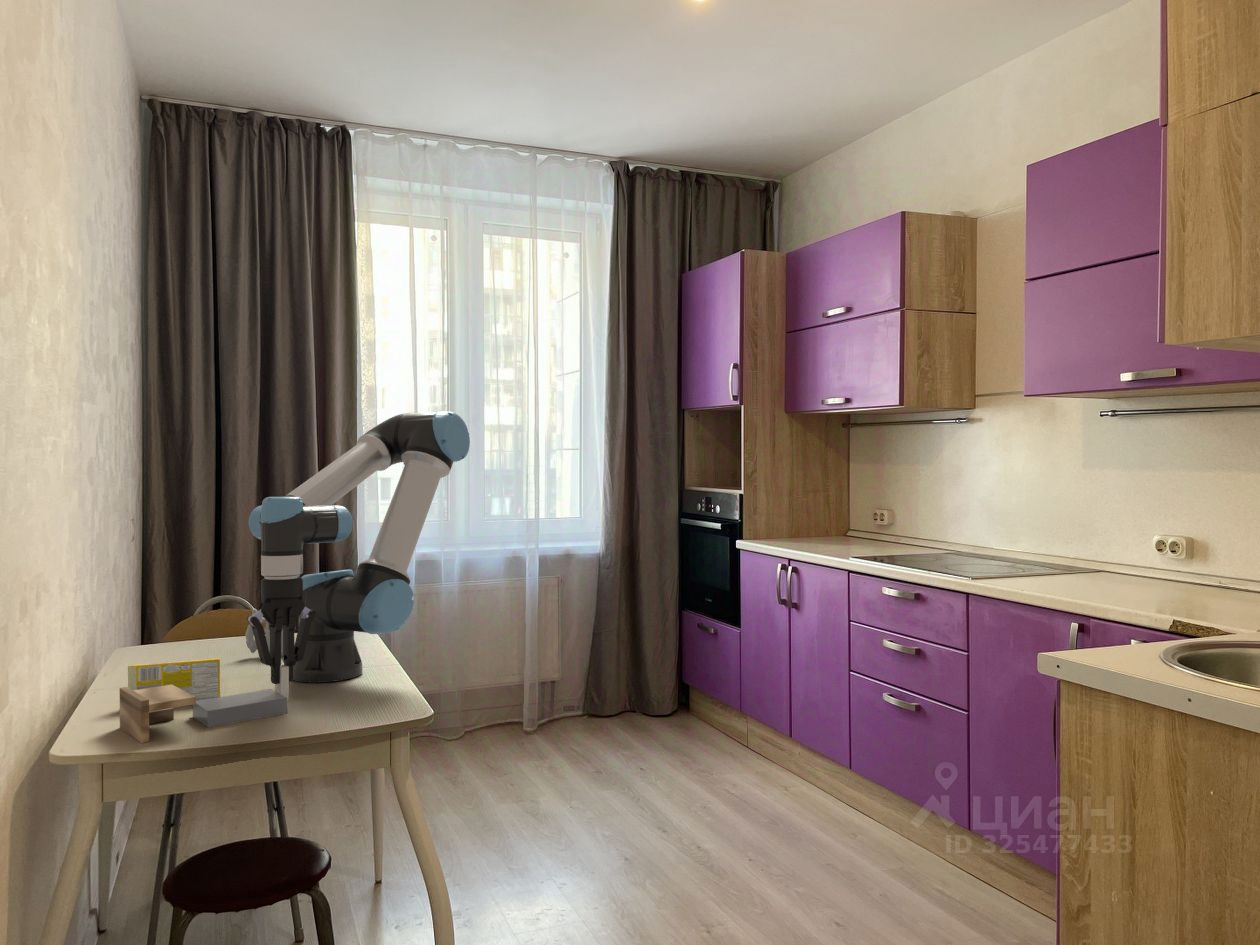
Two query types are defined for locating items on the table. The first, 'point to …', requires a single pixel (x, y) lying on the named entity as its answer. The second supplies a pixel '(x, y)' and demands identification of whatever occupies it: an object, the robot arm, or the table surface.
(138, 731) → the shelf
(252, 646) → the mug
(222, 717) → the gray block
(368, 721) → the table surface
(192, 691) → the candy box
